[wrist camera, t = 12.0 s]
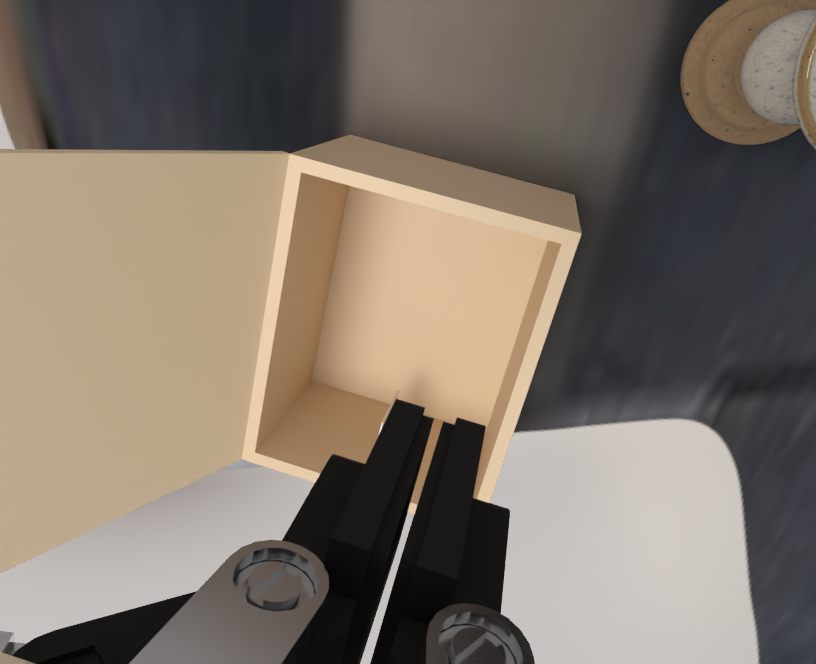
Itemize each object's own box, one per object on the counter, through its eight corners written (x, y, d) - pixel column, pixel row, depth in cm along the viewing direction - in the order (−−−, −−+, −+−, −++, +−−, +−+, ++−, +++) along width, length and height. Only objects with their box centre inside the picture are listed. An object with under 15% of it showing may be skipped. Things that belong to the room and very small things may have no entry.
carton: (574, 194, 46) (581, 233, 35) (479, 481, 55) (462, 583, 44) (350, 134, 47) (289, 153, 36) (295, 423, 57) (234, 508, 46)
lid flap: (-35, 153, 23) (-44, 148, 24) (-22, 583, 31) (-28, 575, 32) (289, 153, 36) (281, 150, 37) (241, 458, 44) (235, 454, 44)
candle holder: (656, 121, 43) (736, 159, 25) (715, -29, 40) (859, -117, 21) (793, 160, 42) (983, 229, 24) (865, 10, 39) (1152, -45, 20)
